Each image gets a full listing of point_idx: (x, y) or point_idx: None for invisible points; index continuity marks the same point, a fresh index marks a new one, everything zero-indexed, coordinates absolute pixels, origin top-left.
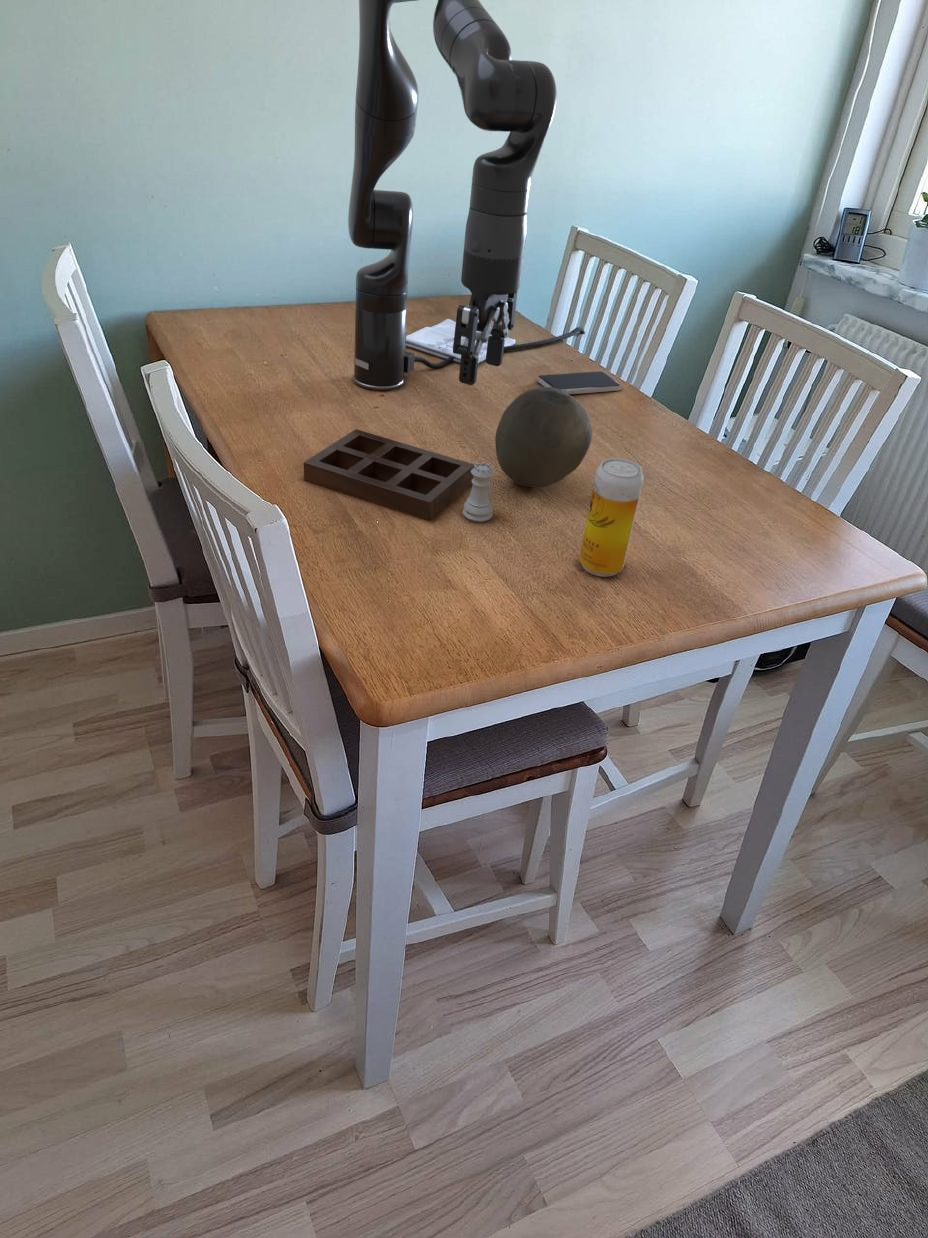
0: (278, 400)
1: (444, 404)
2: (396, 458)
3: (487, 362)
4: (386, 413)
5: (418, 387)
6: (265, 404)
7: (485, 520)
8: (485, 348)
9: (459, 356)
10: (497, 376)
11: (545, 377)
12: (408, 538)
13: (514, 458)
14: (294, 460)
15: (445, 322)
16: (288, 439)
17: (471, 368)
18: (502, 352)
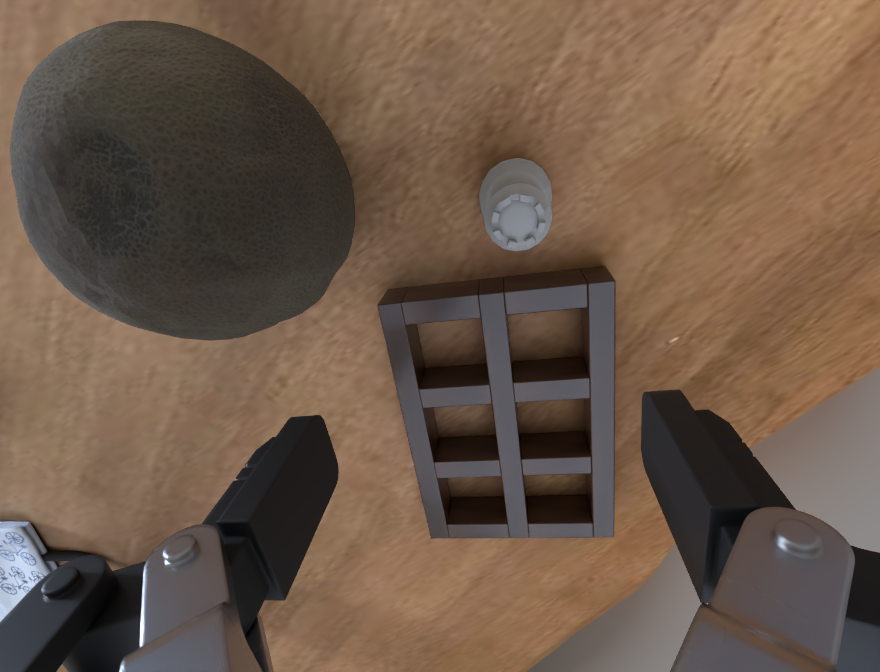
0: (397, 646)
1: (180, 486)
2: (436, 441)
3: (335, 469)
4: None
5: None
6: (423, 651)
7: (531, 162)
8: None
9: (32, 552)
10: (8, 476)
11: None
12: (704, 255)
13: (352, 208)
14: (552, 548)
15: None
16: (495, 585)
17: (745, 466)
18: (273, 458)
